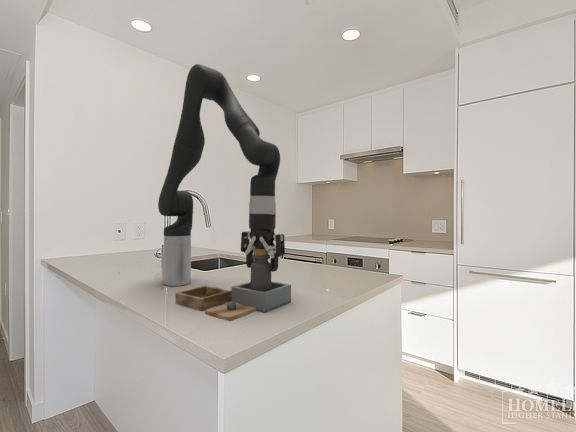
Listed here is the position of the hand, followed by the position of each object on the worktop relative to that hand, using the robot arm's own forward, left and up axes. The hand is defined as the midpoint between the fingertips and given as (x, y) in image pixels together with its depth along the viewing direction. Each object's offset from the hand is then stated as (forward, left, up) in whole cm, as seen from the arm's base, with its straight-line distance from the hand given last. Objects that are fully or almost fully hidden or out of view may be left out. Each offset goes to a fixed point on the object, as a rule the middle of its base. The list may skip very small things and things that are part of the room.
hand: (261, 269), depth 90 cm
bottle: (0, 0, -9) cm, 9 cm away
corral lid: (-1, -11, -10) cm, 14 cm away
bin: (0, 0, -10) cm, 10 cm away
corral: (-14, -9, -10) cm, 19 cm away
